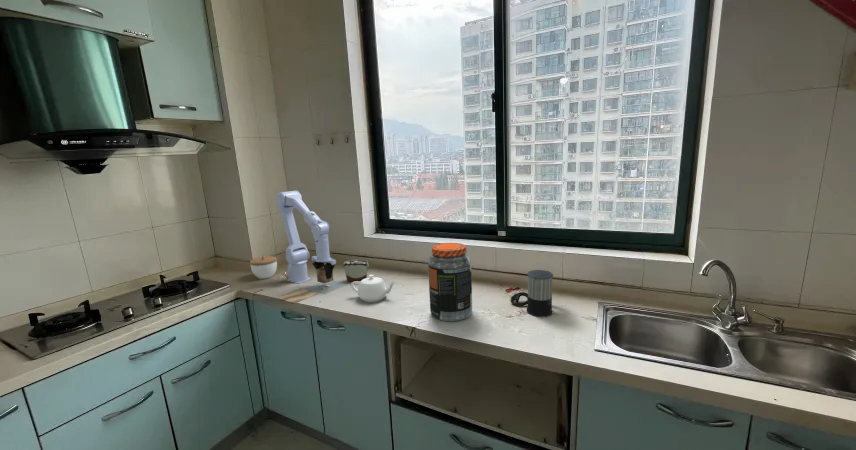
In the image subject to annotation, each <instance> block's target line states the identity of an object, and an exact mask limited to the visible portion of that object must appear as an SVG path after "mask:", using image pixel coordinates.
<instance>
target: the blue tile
mask: <svg viewBox="0 0 856 450" xmlns="http://www.w3.org/2000/svg"><path fill="white" fill-rule="evenodd" d="M345 286H348V284H347V283H344V282H339V281H334V280H332V281H330V282H327V283H321V282H318V283H315V284H313V285H310V286H308V287H305V288H304V290H307V291H311V292H315V293H318V294H322V295H326V294H329V293H331V292H333V291H335V290H338V289H340V288H344V287H345Z"/></svg>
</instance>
